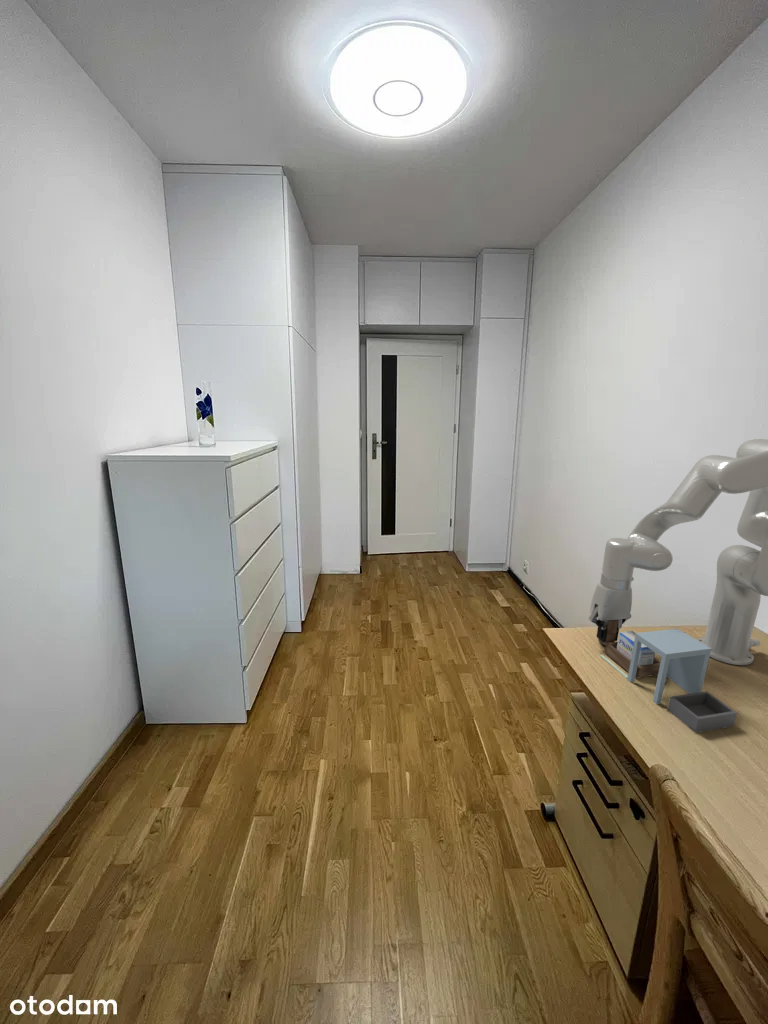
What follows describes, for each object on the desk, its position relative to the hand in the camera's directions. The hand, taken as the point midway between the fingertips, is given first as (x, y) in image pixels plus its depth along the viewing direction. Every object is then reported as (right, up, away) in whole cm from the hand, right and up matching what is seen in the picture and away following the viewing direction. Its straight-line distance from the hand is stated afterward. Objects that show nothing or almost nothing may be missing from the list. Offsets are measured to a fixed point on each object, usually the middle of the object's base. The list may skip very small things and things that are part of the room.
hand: (606, 638), depth 119 cm
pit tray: (+6, -9, -28) cm, 30 cm away
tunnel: (+4, -7, -19) cm, 20 cm away
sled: (+1, -3, -6) cm, 7 cm away
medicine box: (+1, -5, -10) cm, 11 cm away
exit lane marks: (+2, -4, -9) cm, 10 cm away
